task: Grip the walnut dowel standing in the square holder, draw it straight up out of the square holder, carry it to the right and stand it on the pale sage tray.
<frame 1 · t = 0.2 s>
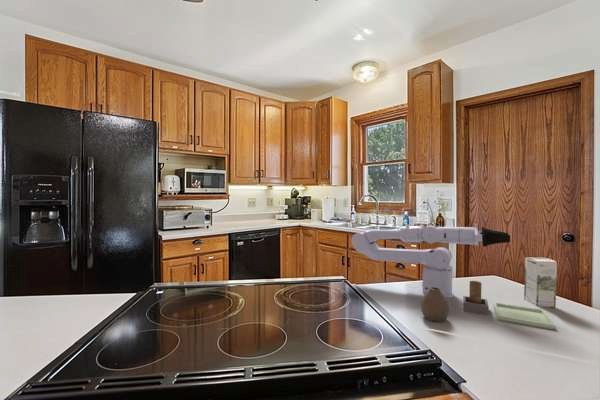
hand: (508, 237, 92), 21 cm above the countertop, tool horizontal, fingers open, 7 cm apart
tray: (521, 318, 81), on the countertop
vase: (434, 320, 80), on the countertop
dowel: (475, 309, 87), resting on square holder
syrup box: (539, 305, 92), on the countertop
square holder: (475, 310, 87), on the countertop
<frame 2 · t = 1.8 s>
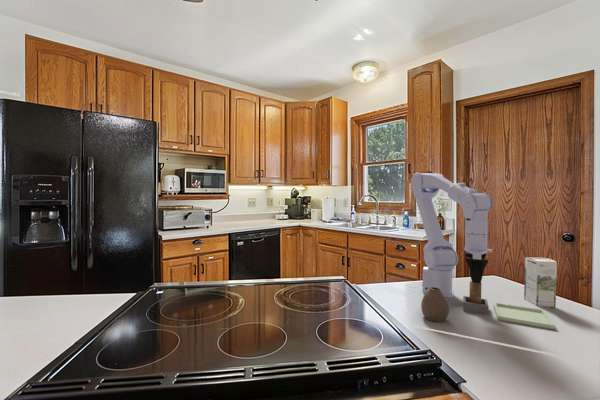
hand: (475, 279, 87), 9 cm above the countertop, tool pointing down, fingers open, 7 cm apart
nothing on the countertop moved.
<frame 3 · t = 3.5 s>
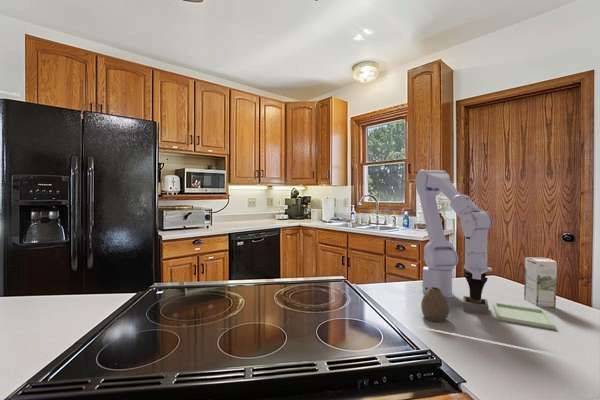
hand: (475, 297, 87), 4 cm above the countertop, tool pointing down, fingers closed on dowel, 3 cm apart
dowel: (475, 309, 87), resting on square holder, touching gripper
everything else where it was.
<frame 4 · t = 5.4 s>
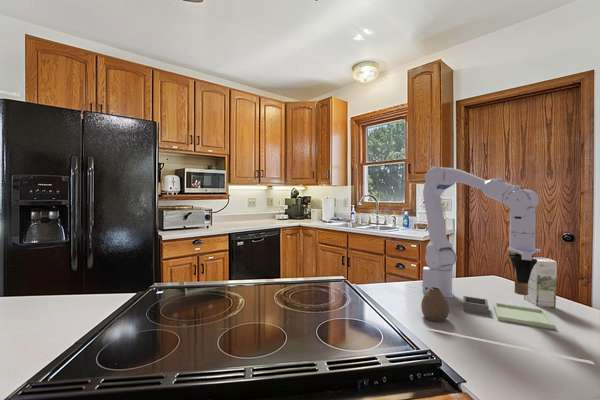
hand: (521, 281, 81), 10 cm above the countertop, tool pointing down, fingers closed on dowel, 3 cm apart
dowel: (521, 293, 81), point 7 cm above the countertop, touching gripper
everything else where it was.
when the fingers open (5 cm above the countertop, at t = 7.1 s): dowel stays where it is, resting on tray.
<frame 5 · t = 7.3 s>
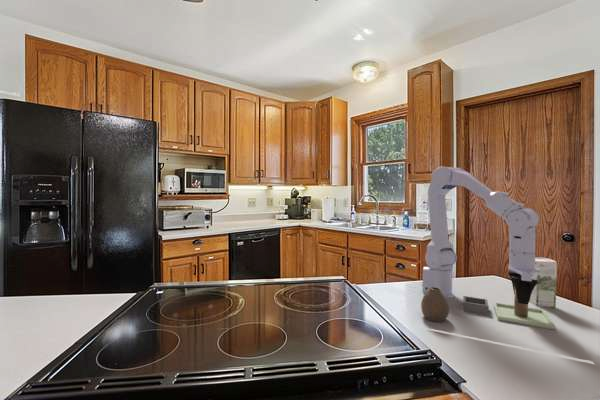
hand: (521, 300, 81), 5 cm above the countertop, tool pointing down, fingers open, 5 cm apart
dowel: (521, 315, 81), point 1 cm above the countertop, touching tray
everything else where it was.
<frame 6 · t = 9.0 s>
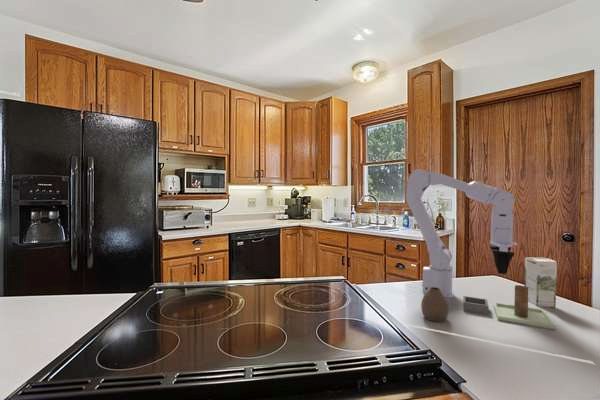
hand: (501, 270, 93), 10 cm above the countertop, tool pointing down, fingers open, 7 cm apart
nothing on the countertop moved.
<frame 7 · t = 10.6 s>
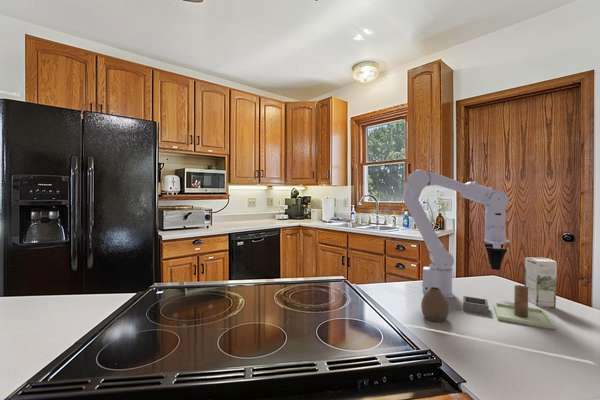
hand: (494, 267, 98), 10 cm above the countertop, tool pointing down, fingers open, 7 cm apart
nothing on the countertop moved.
at the end: dowel inside the target area on the tray (0.0 cm from its centre), point 0.8 cm above the tray's base; dowel tilted 0°; the gripper is holding nothing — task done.
